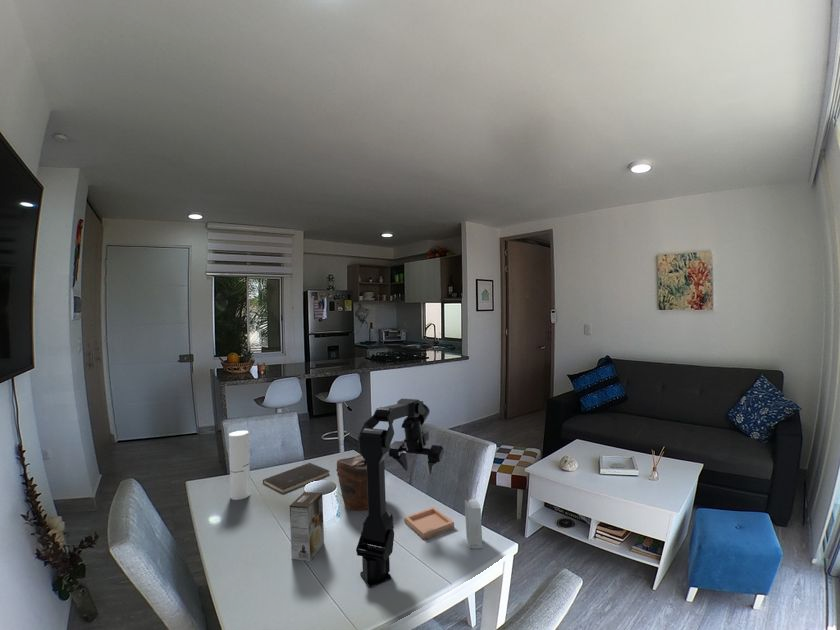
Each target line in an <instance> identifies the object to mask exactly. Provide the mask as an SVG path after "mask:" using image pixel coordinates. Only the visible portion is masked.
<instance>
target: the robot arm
mask: <svg viewBox="0 0 840 630" xmlns="http://www.w3.org/2000/svg"><path fill="white" fill-rule="evenodd" d="M430 411H431V410H430V408H429V407H428V405H426V404H424V401H423V400H420V399H415V398H400V399H399V400H397V403H396V404H391V405H387V406H379V407H377V408H376V409H375V411H374V413H373V415H371V417H370V418H368V419H367V420H366V421H365V422H364V423H363V425H362V427H361V430H360V432H359V434H358V439H357V440H358V441H357V443H358V448H359V453H360V455H362V457H363V458H364V460H365V461H366V465H367V492H368V509H367V516H366V518H365V519H364V521H363V523H362V530H361V534H360V537H359V539H358V543H357V546H356V549H355V551H356V552H355V553H356V555H357V556H358V557H359V556H360V557H362V558H361V559H362V560H361V563H362V570H361V571H360V572H359V574H360V577H361V578H362V579H363V580H364V582H365V583H366V585H367V586H368V587H369V588H373V587H375V586H377V585H379V584H382V583H384V582H386V581H389V580H390V579H392V575H391V574H390V563H391V562H390V556H391V555H392V554H393V549H394V539H395V531H394V529H395V527H394V515H393V514H392V513H388V512H387V502H386V497H387V496H386V477H385V474H386V473H385V471H386V468H385V469H384V464H385V459H386V458H387V455H388V456H389V457H391V458H392V459H393V460H395V461H396V462H397V463H399V465H400V466H401V467H402V468H403V469H404V470H405V472H408V470H409V465H408V460H407V454H412V455H426V456H427V466H428V470H429V471H428V472H429V474H430V475H432V474H433V470H434V466H435V465H436V464H437V463H439V462H440V463H441V459H443V456H444V453H445V450H444V447H443V445H436V444H432V445H431V447H430V448H429V447H428V448H427V447H426V446H427V442H428V441H429V438H430V437H429V435H430V434H429V433H430V432H429V431H428V430H422V425H424V423H425V422H426V420H427V418H428V417H429V415H430ZM401 418H404V419H403V421H402V423H401V429H403V431H404V439H403V441H400V440H394V441H393V438H394V435H395V429H394V426H393V424H394V421H395V420H398V419H401ZM380 422H383V423H385V422H386V423H388V428H387V430H386V429H380V428H375V427H376V426H377V425H379V423H380ZM392 441H393V442H392ZM405 443H406V444H405Z"/></svg>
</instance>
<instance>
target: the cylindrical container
mask: <svg viewBox="0 0 840 630" xmlns="http://www.w3.org/2000/svg"><path fill="white" fill-rule="evenodd" d="M249 434H250V433H249V430H236V431H232V432H230V433H229V434H228V449H229V451H228V452H229V454H228V455H229V483H230V484H229V485H230V499H231V500H233V501H239V500H243V499H246V498H248V497H249V496H250V495H251V472H250V471H251V470H250V467H251V466H250V464H251V463H250V435H249Z"/></svg>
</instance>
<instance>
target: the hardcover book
mask: <svg viewBox="0 0 840 630" xmlns="http://www.w3.org/2000/svg"><path fill="white" fill-rule="evenodd" d="M328 475H330V470H328V469H326V468H324V467H321V466H319V465H316V464H314V463H311V462H308V463H305V464H302V465H300V466H297V467H293V468H291V469H288V470H285V471H283V472H280V473H277V474H275V475H272V476H269V477H267V478H263V479H262V484H265V485H267V486H268V487H271V488H272V489H273V490H276V491H278V492H280V493H282V494H284V493H287V492H289V491H291V490H295V489H296V488H299V487H301V486H304V485H307V484H309V483H311V482H314V481H317V480H319V479H321V478H323V477H325V476H328Z"/></svg>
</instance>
